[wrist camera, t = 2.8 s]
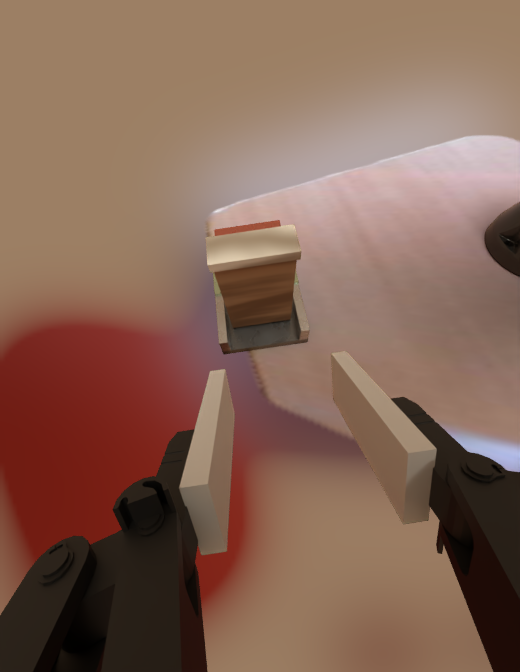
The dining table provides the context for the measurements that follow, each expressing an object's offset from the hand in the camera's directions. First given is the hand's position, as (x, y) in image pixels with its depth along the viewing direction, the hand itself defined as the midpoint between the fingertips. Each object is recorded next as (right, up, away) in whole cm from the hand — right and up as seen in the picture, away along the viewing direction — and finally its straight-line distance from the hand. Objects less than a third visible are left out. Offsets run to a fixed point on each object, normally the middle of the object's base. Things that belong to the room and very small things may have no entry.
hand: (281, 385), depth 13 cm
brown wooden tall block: (-1, +6, +28) cm, 28 cm away
